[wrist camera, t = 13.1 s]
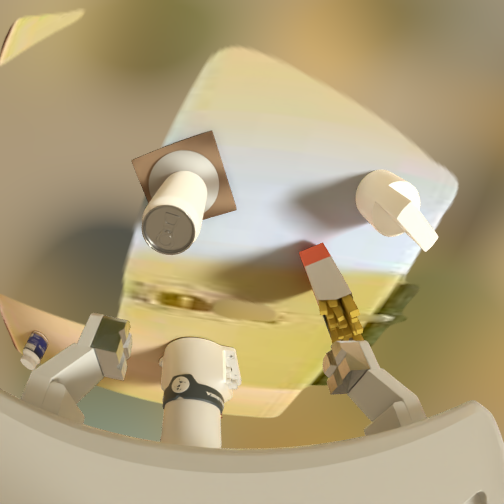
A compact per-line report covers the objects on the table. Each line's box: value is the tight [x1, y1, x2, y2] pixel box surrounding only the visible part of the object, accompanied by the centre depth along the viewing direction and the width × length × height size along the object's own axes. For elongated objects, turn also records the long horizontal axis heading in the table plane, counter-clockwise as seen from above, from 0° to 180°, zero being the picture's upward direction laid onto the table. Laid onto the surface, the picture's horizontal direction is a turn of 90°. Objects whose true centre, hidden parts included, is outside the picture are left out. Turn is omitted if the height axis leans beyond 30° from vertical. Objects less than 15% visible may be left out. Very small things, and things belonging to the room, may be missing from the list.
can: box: [142, 171, 207, 255], centre depth 31 cm, size 6×6×12 cm
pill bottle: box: [21, 331, 48, 370], centre depth 49 cm, size 6×6×10 cm
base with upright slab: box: [355, 170, 438, 252], centre depth 36 cm, size 9×9×12 cm
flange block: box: [132, 131, 237, 220], centre depth 37 cm, size 12×12×2 cm
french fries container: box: [299, 243, 364, 344], centre depth 39 cm, size 5×11×18 cm, turn 23°
